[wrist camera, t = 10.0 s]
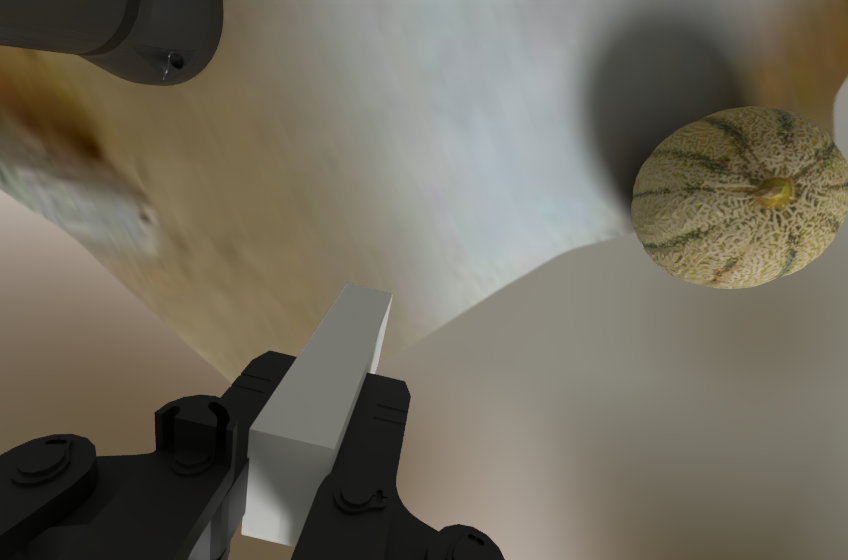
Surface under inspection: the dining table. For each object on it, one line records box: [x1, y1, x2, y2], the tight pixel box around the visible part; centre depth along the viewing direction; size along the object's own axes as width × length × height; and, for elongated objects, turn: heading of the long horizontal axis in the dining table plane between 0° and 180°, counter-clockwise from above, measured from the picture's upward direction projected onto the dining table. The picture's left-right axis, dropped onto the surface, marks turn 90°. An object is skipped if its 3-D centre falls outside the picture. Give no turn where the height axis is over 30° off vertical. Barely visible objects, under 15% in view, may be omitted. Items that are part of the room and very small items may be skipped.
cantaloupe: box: [631, 106, 848, 289], centre depth 35 cm, size 15×15×15 cm
